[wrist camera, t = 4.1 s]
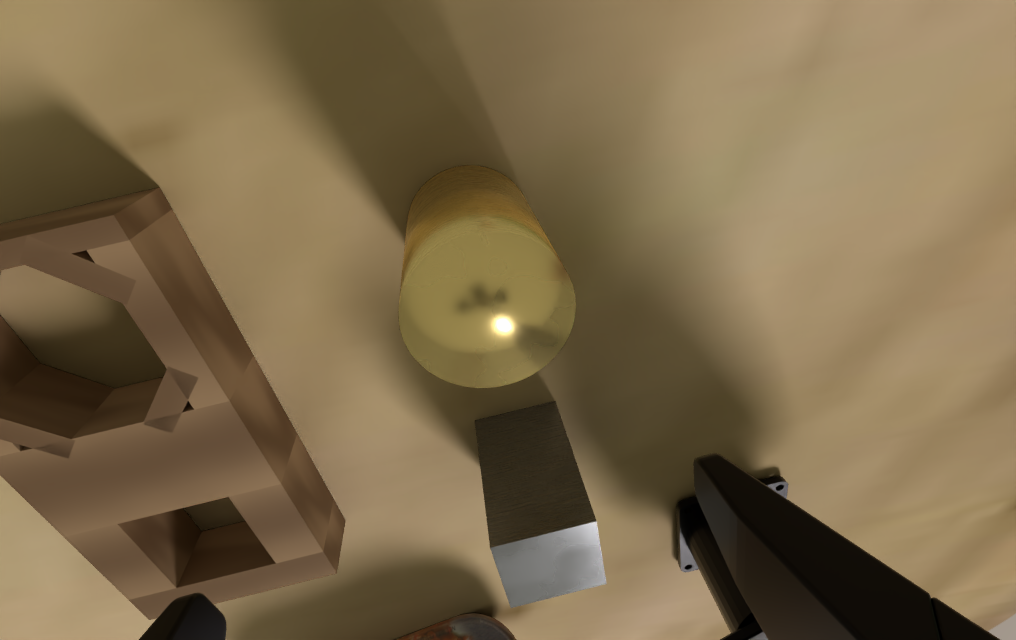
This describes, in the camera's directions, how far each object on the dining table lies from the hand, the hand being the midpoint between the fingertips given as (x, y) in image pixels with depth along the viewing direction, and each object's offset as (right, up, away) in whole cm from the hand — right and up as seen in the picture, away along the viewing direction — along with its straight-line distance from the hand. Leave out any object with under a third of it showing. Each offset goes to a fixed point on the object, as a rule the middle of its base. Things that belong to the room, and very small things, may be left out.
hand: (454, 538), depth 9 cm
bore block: (-14, 0, +13) cm, 19 cm away
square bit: (+2, -2, +17) cm, 17 cm away
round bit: (-1, +7, +11) cm, 13 cm away
